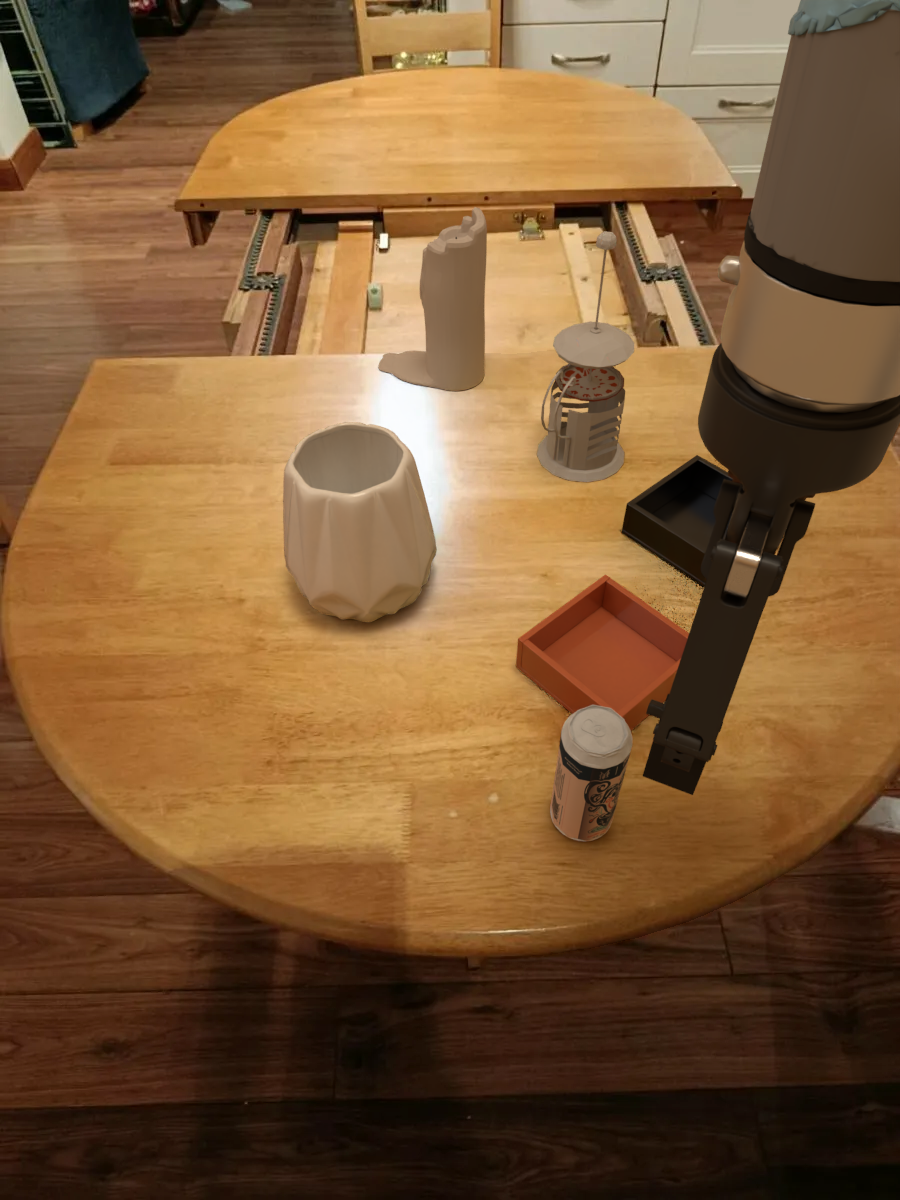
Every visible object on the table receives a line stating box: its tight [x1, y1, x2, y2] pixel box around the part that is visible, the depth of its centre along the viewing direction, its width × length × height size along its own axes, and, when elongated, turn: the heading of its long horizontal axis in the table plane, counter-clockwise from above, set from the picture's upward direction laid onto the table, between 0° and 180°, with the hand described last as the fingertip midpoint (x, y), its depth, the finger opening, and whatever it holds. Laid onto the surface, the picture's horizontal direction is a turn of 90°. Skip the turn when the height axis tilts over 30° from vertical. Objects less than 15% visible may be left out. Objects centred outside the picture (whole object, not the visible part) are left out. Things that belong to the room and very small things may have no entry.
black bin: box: [621, 454, 733, 588], centre depth 84 cm, size 11×11×4 cm
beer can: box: [549, 705, 634, 842], centre depth 61 cm, size 5×5×12 cm
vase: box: [282, 421, 438, 623], centre depth 77 cm, size 14×14×15 cm
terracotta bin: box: [515, 574, 690, 732], centre depth 73 cm, size 11×11×4 cm
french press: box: [536, 230, 635, 483], centre depth 85 cm, size 10×12×25 cm
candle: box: [377, 206, 488, 392], centre depth 99 cm, size 7×14×20 cm, turn 71°
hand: (701, 685), depth 49 cm, fingers open, 13 cm apart
